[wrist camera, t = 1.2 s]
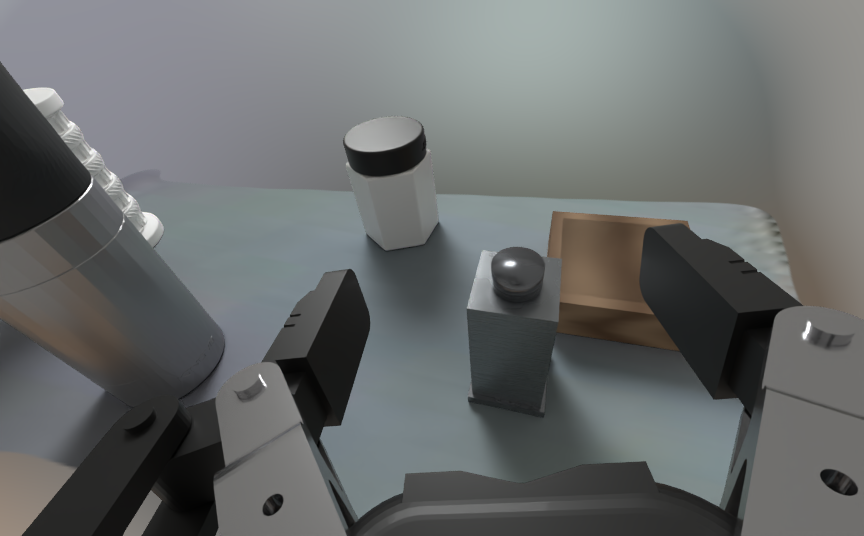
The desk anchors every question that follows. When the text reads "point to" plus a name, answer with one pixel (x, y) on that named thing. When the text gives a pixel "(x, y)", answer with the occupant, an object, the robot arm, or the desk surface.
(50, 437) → the desk surface
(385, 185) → the jar
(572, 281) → the stand
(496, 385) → the block
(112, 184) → the decorative container
